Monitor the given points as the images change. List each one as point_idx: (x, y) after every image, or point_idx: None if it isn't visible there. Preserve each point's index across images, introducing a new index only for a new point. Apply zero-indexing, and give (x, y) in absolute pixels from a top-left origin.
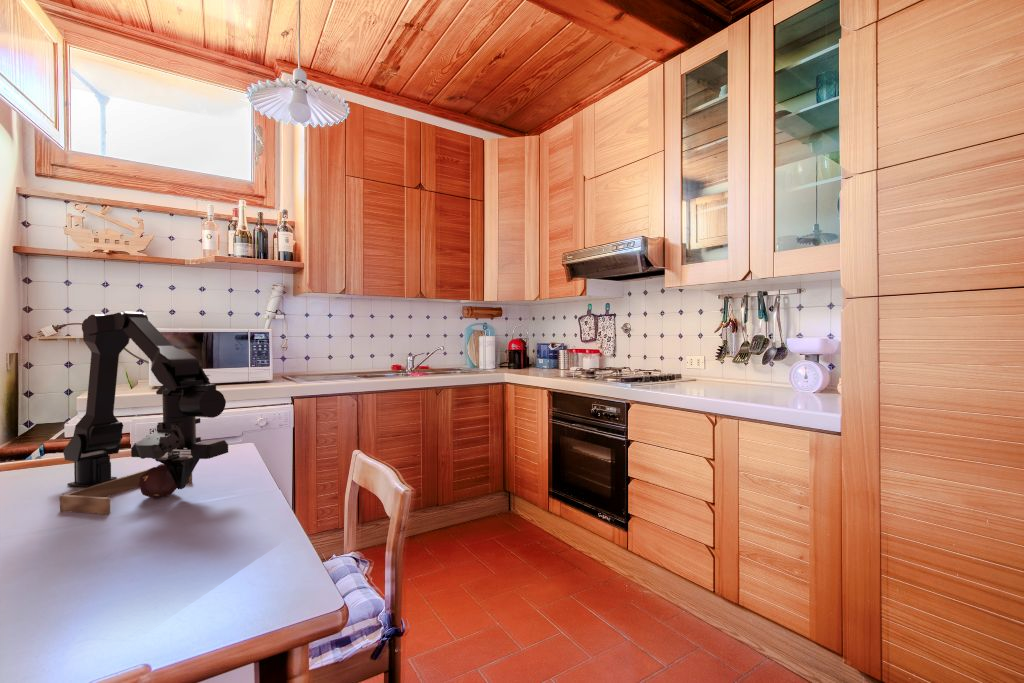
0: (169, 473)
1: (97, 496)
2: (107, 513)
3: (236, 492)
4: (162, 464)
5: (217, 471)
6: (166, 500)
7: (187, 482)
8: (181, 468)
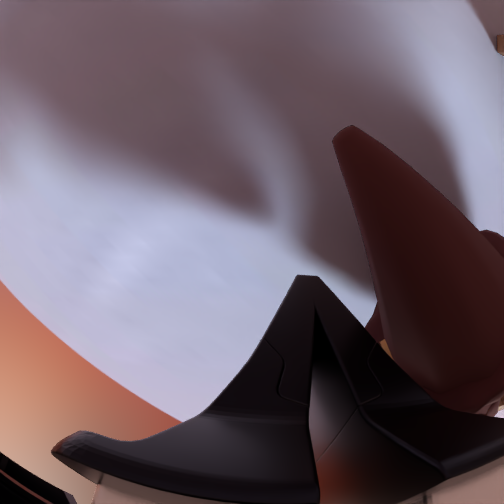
0: (420, 372)
1: None
2: (498, 39)
3: (126, 327)
4: None
5: None
6: None
7: None
8: (240, 390)
